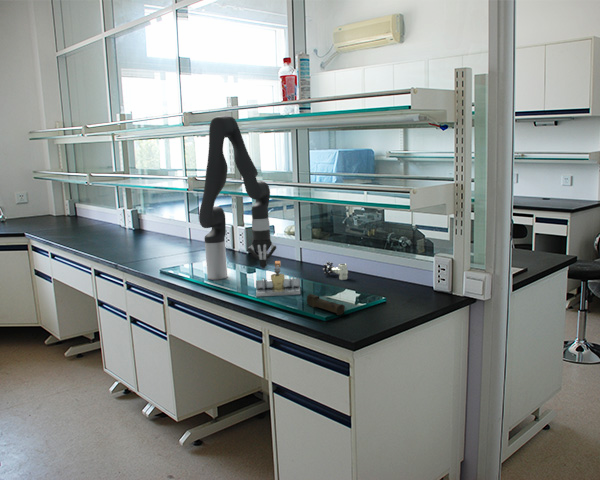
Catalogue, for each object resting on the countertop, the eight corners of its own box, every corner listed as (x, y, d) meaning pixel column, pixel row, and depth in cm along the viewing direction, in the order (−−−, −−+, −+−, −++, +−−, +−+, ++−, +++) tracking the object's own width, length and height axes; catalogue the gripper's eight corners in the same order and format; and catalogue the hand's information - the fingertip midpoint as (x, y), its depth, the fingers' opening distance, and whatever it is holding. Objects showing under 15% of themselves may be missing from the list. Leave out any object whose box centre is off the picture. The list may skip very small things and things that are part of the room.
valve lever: (280, 273, 227) (280, 268, 226) (274, 273, 227) (274, 269, 226) (280, 264, 242) (280, 260, 241) (275, 265, 242) (275, 261, 241)
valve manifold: (257, 288, 235) (256, 270, 234) (299, 286, 235) (298, 268, 234) (256, 296, 223) (255, 277, 222) (300, 294, 224) (299, 275, 222)
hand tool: (345, 314, 197) (345, 301, 196) (337, 316, 195) (337, 304, 194) (312, 303, 212) (312, 291, 211) (304, 305, 210) (304, 293, 209)
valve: (351, 278, 245) (332, 274, 254) (351, 263, 244) (332, 260, 253) (341, 281, 241) (322, 276, 250) (341, 266, 240) (322, 262, 249)
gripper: (276, 226, 241) (278, 264, 244) (246, 227, 240) (248, 266, 244) (276, 229, 233) (278, 268, 236) (245, 230, 233) (247, 270, 236)
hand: (263, 267), depth 240 cm, fingers closed
